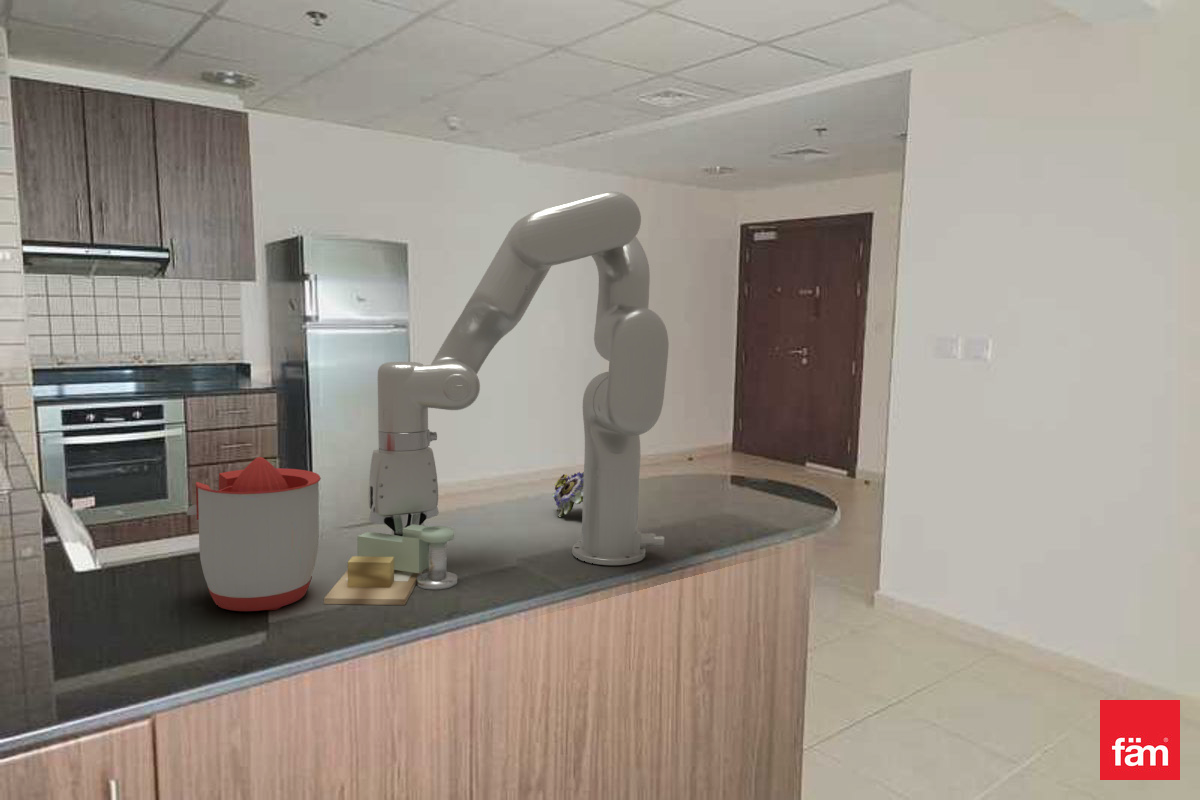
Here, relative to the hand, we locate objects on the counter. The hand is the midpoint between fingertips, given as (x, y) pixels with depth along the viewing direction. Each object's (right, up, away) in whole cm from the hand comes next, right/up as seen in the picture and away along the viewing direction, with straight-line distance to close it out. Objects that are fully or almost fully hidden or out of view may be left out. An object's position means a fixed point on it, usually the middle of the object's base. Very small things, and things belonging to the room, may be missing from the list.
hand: (404, 555), depth 120 cm
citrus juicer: (-17, -3, -14) cm, 23 cm away
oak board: (-2, -3, -7) cm, 8 cm away
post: (+6, -3, -6) cm, 9 cm away
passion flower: (+27, 0, +36) cm, 45 cm away
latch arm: (+1, -1, -4) cm, 5 cm away
